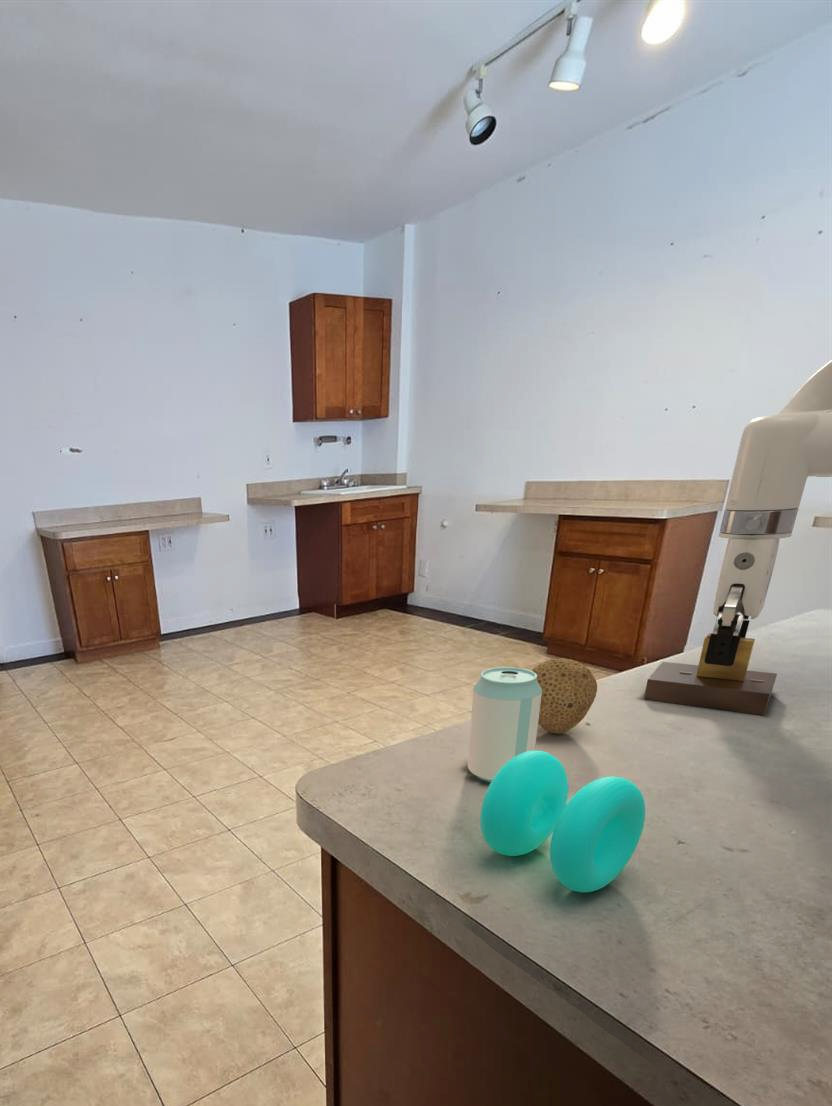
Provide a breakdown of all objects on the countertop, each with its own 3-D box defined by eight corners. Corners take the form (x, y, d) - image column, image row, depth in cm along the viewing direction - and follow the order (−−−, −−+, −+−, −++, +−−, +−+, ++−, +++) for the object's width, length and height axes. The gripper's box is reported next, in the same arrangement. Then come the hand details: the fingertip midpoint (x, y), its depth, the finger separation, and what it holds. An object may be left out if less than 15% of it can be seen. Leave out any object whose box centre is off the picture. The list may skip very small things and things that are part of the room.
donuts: (538, 827, 63) (550, 733, 59) (640, 872, 55) (662, 768, 51) (469, 862, 58) (477, 764, 54) (569, 917, 51) (588, 807, 46)
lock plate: (771, 693, 90) (777, 672, 89) (764, 715, 84) (770, 692, 82) (658, 680, 99) (662, 660, 98) (643, 699, 92) (647, 678, 91)
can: (456, 765, 77) (462, 669, 72) (509, 757, 78) (519, 661, 73) (487, 790, 70) (496, 687, 65) (544, 781, 72) (558, 678, 67)
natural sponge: (522, 746, 80) (531, 670, 76) (506, 721, 88) (513, 651, 84) (599, 745, 79) (612, 667, 75) (575, 719, 87) (585, 648, 83)
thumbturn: (745, 677, 88) (755, 636, 86) (743, 681, 87) (754, 640, 85) (698, 672, 92) (707, 633, 89) (696, 675, 91) (705, 636, 88)
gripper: (789, 531, 73) (749, 675, 80) (798, 517, 85) (763, 644, 92) (710, 531, 77) (680, 667, 85) (730, 518, 89) (701, 639, 96)
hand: (723, 655), depth 88 cm, fingers open, 9 cm apart
